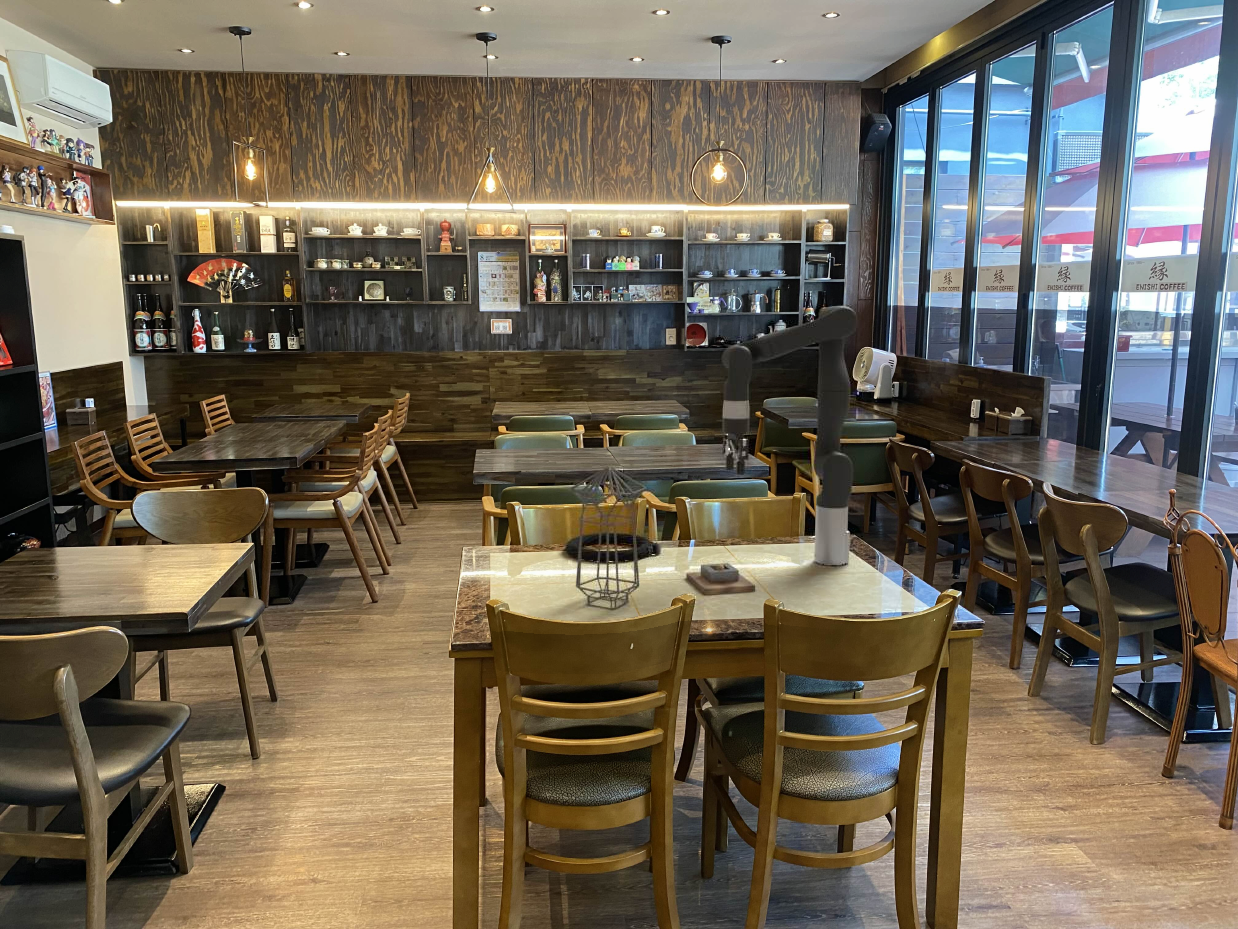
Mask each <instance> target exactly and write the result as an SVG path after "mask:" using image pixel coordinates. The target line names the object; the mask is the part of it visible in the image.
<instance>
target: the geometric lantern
mask: <svg viewBox="0 0 1238 929" xmlns="http://www.w3.org/2000/svg"><path fill="white" fill-rule="evenodd" d="M607 477H608V483H607V482H606V481H607ZM621 477H622V478H623V479H625V480H627V481H629V482H630V483H632V484H634V485H637V486H629V485H628V484H627V483H626V482H625V481H624V480H623V479H622V478H621ZM592 478H593V479H592ZM612 478H613V480H614V483H615V484H613V480H612ZM591 479H592V480H591ZM589 480H590V482H589V483H588V484H587V485H586V486H584V487H583V488H578V487H579V486H581V485H583V484H584V483H586V482H588V481H589ZM602 481H603V482H602ZM620 483H621V484H622V485H623V486H624V487H625V488H624V487H622V485H621V484H620ZM601 485H603V486H605V487H606V488H607V490H609V491H610V493H598V490H599V489H600V486H601ZM614 488H615V489H617V491H618V492H616V491H615V490H614ZM636 489H637V490H636ZM648 489H649V488H648V487H646V486H645V485H643V484H641V483H639V482H638V481H636V480H634V479H632V478H631V477H630V476H628V475H626V474H625V473H623V472H620V471H619V470H617V469H616V468H614V467H612V466H611V467H610V466H608V467H607V466H606V467H604V468H603V469H601V470H599V471H597V472H596V473H595V474H592V475H591V476H589V477H587V478H585V479H583V480H582V481H580V482H578V483H577V484H575V485H573V486H571V487H570V488H568V491H569V492H571V493H572V494H573V495H575V497H576V498H578V499H579V500H580V501H581V502H582V506H581V515H580V518H579V521H580V522H579V524H580V525H579V536H580V539H579V552H578V558H577V567H576V568H577V569H576V580H575V588H577V589H578V590H580V592H582V594H584V595H585V596H586V599H587V600H586V605H587V606H589V607H590V606H591V607H596V608H600V609H601V608H602V609H606V610H616V609H618V608H620V607H622V606H624V605H625V604H627V603H629V602H630V601H629V595H630V594H632V593H633V592H634V591H636V590H637V589H639V587H640V576H639V575H640V574H639V562H638V561H639V559H637V546H636V535H637V532H636V507H635V504H636V500H638V499H639V497H640V496H642V494H643V493H644V492H645V491H646V490H648ZM592 490H593V491H592ZM633 490H635V491H633ZM581 494H582V495H581ZM587 495H589V497H587ZM612 496H613V497H617V499H616V501H615V502H614V504H613V505H612V507H611V508H610V510H609V511H608V513H607V514H606V513H604V512H603V511H602V509H601V507H600V506H599V504H601V503H603V502H605V501H606V500H608V499H609V498H611V497H612ZM623 496H624V497H623ZM596 497H603V498H602V499H600V500H599V501H597V502H596ZM632 498H633V499H632ZM631 499H632V501H631V502H629V501H630V500H631ZM619 500H620V501H621V502H622V504H623V505H622V506H621V508H619V510H618V512H617V514H611V513H612V512H613V510H614V508H615V507H616V506H617V504H618V502H619ZM588 501H590V502H591V503H588ZM631 505H632V513H631V509H630V506H631ZM624 506H625V507H627V509H628V512H629V515H630V516H626V515H619V514H620V513H621V511H622V509H623V508H624ZM586 507H595V509H596V511H597V512H598V514H595V515H592V516H588V517H584V515H585V514H584V513H585V510H586ZM596 517H599V521H598V522H597V521H591V520H589V519H592V518H596ZM610 517H615V518H614V519H613V521H612V522H611V523H610ZM617 518H624V519H625V518H626V519H631V520H627V521H622V522H619V523H615V521H616V519H617ZM603 520H604V521H605V523H603ZM584 523H589V524H590V523H591V524H597V525H599V531H598V532H599V544H598V562H597V569H596V577H595V578H592V579H588V580H586V581H583V582H581V575H582V572H581V570H582V560H581V548H583V546H582V535H583V527H584V526H583V525H584ZM627 523H632V535H633V544H634V546H633V548H634V560H633V577H634V580H627V579H620V578H619V564H618V563H619V562H618V559H617V550H618V543H617V538H616V533H617V526H619V525H623V524H627ZM602 526H606V533H607V543H606V551H607V562H606V576H602V577H601V576H600V551H601V546H602V544H601V533H602V528H603V527H602ZM610 526H613V533H614V541H615V543H614V551H615V562H614V563H615V576H616V577H615V578H614V577H609V576H610V574H609V571H610V562H609V551H610V543H609V533H610ZM600 580H605V585H604V588H603V589H602V586H601V581H600ZM609 580H610V581H616V582H615V583H616V590H613V589H612V590H611V589H609V586H610V585H609V584H610V583H609ZM594 581H595V582H596V581H597V582H598V586H599V589H598V590H597V589H592V588H587V587H581V586H583V585H586V584H588V583H592V582H594ZM620 582H622V583H628V584H632V585H631V586H630V587H626V588H624V589H622V590H620ZM585 591H588V592H592V593H590V594H588V593H586V592H585ZM595 594H599V596H598V597H597V596H593V595H595ZM619 594H623V595H622V596H619ZM611 595H615V596H614V597H613V596H611ZM618 596H619V597H618ZM601 597H602V598H601ZM607 597H609V598H608V599H607ZM613 598H614V599H613ZM592 599H593V600H592ZM619 599H621V600H620V601H625V600H626V601H625V602H623V603H620V604H619V605H617V600H619ZM597 600H601V601H605V602H606V601H608V602H610V607H607V606H602V605H597V604H591V603H593V602H595V601H597ZM613 602H614V607H613Z"/></svg>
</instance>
